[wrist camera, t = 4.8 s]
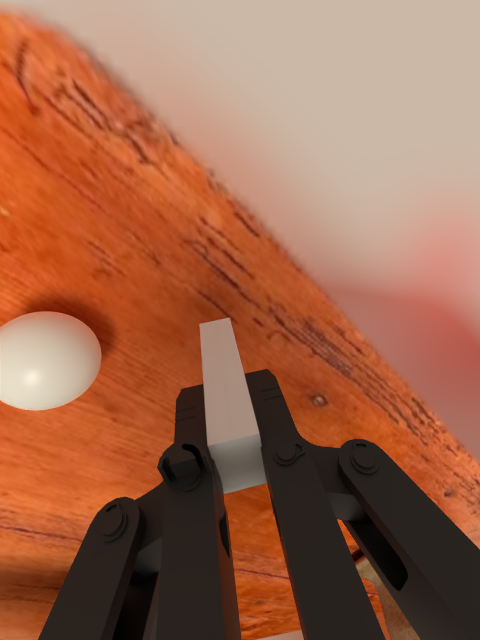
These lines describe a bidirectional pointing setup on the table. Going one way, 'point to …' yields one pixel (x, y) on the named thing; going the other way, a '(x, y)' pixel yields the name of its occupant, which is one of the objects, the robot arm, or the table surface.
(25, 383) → the cue ball
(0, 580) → the table surface
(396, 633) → the tan flanged block
